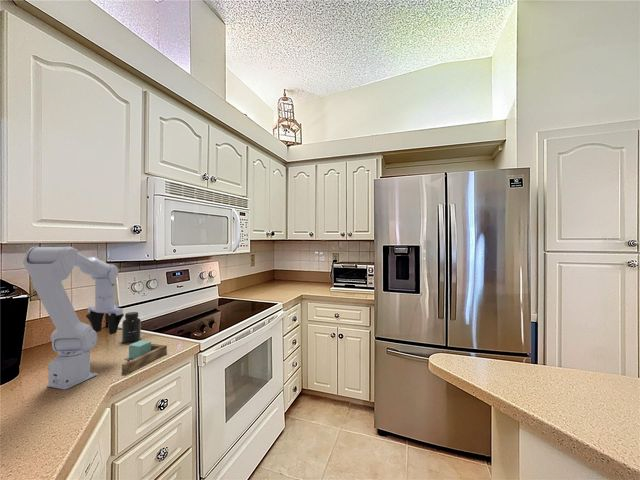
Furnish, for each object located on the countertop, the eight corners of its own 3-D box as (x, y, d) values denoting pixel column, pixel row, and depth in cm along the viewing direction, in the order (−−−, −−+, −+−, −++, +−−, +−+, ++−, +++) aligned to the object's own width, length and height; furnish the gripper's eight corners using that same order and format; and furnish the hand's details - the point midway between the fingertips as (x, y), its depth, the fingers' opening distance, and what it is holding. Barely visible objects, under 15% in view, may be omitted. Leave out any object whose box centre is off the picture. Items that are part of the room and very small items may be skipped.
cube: (151, 354, 108) (150, 341, 108) (139, 360, 103) (139, 346, 103) (140, 353, 109) (140, 340, 109) (128, 358, 105) (128, 345, 104)
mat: (139, 361, 102) (139, 361, 102) (124, 359, 104) (124, 359, 104) (155, 354, 109) (155, 353, 109) (140, 352, 111) (140, 351, 111)
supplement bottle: (131, 343, 120) (131, 315, 120) (118, 342, 121) (117, 314, 121) (144, 338, 126) (144, 311, 126) (131, 336, 128) (131, 310, 128)
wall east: (163, 354, 108) (163, 347, 108) (141, 351, 111) (141, 344, 111) (166, 353, 110) (166, 345, 110) (144, 350, 113) (144, 342, 113)
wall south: (125, 374, 93) (125, 365, 93) (122, 373, 93) (121, 364, 93) (163, 354, 108) (163, 347, 108) (160, 354, 109) (160, 346, 109)
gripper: (130, 295, 106) (130, 330, 106) (101, 293, 110) (101, 327, 110) (112, 299, 99) (112, 337, 99) (81, 296, 103) (81, 333, 103)
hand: (105, 332), depth 104 cm, fingers open, 7 cm apart
